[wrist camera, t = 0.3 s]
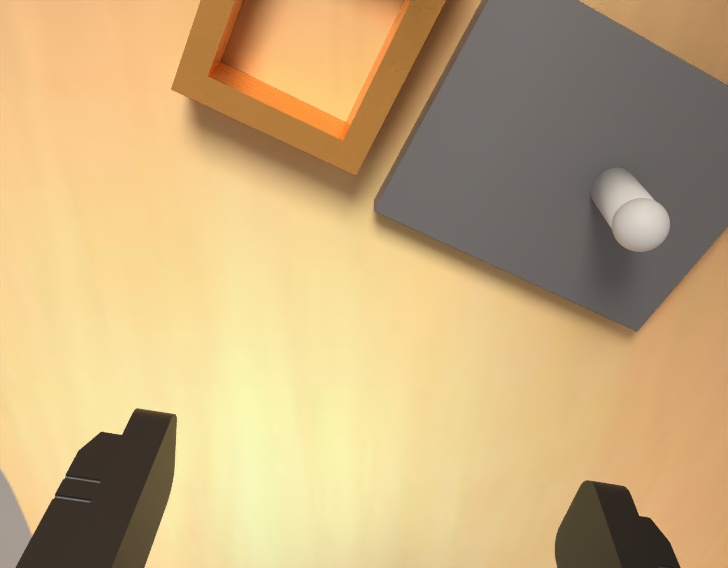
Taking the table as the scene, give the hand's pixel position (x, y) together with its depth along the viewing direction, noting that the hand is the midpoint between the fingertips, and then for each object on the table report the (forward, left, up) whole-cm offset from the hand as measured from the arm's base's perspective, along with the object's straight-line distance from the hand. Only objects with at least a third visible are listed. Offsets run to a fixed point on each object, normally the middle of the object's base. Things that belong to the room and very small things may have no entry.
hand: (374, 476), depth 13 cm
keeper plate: (-2, +11, -26) cm, 29 cm away
